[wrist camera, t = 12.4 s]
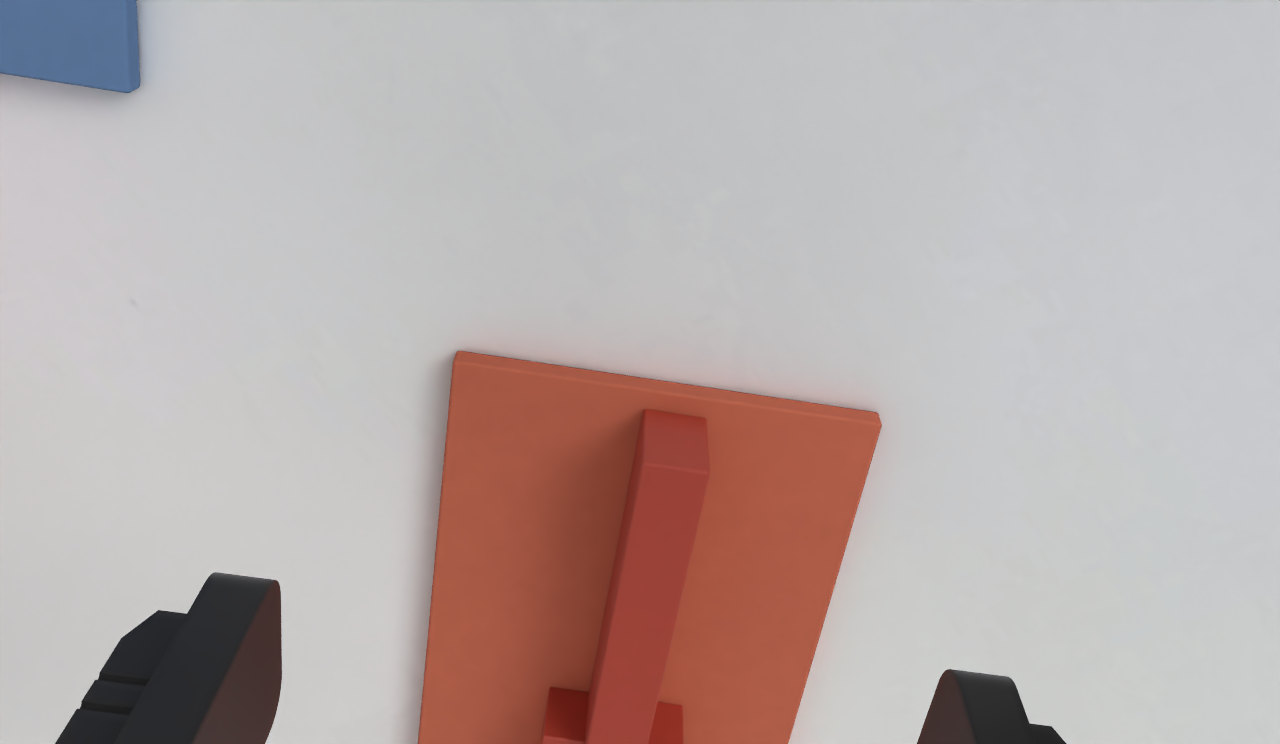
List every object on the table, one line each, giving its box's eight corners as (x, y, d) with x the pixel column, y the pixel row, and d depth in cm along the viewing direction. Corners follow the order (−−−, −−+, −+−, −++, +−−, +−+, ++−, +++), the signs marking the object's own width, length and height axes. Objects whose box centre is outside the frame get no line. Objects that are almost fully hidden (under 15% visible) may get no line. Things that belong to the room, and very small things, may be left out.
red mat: (456, 349, 27) (452, 360, 26) (878, 411, 27) (883, 424, 27) (417, 779, 33) (412, 796, 33) (758, 823, 34) (760, 840, 33)
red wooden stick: (598, 400, 27) (592, 454, 24) (751, 424, 27) (759, 480, 25) (530, 802, 33) (520, 874, 31) (655, 819, 33) (654, 892, 31)
